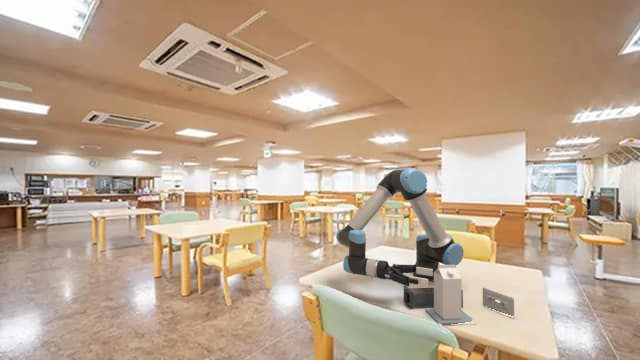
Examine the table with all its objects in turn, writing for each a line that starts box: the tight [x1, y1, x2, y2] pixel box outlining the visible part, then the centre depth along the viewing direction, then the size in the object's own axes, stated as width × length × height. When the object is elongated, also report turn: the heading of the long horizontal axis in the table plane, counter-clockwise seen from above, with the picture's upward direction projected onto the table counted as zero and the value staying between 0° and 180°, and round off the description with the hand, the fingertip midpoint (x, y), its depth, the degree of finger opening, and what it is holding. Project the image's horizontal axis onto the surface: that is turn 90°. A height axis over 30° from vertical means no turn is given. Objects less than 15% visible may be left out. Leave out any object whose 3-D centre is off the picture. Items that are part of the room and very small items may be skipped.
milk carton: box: [433, 264, 462, 319], centre depth 103 cm, size 7×7×19 cm
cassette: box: [482, 286, 515, 317], centre depth 107 cm, size 12×2×8 cm, turn 25°
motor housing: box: [403, 285, 464, 310], centre depth 113 cm, size 23×7×7 cm, turn 95°
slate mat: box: [424, 308, 473, 326], centre depth 102 cm, size 14×11×1 cm
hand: (430, 277), depth 106 cm, fingers open, 13 cm apart
